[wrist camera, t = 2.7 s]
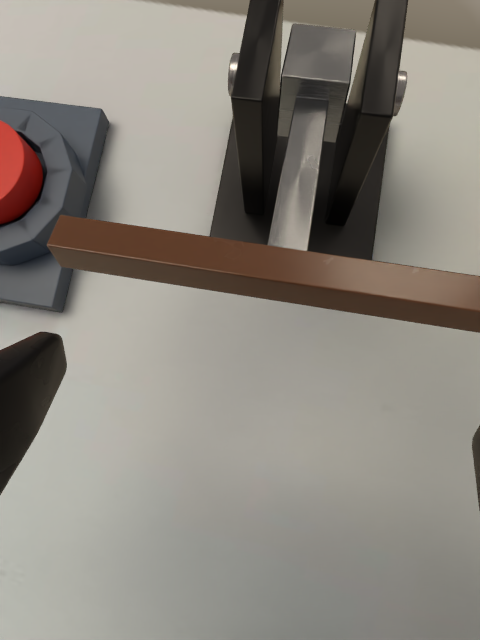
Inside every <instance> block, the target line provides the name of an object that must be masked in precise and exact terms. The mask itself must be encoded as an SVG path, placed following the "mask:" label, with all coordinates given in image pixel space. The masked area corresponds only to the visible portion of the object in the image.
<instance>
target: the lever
mask: <svg viewBox="0 0 480 640" xmlns="http://www.w3.org/2000/svg"><path fill="white" fill-rule="evenodd" d="M355 38H356V30H352V29H342V28H332V27H323V26H313V25H303V24H293V25H292V28H291V33H290V37H289V42H288V46H287V51H286V55H285V60H284V64H283V69H282V74H281V82H280V95H279V108H278V120H277V133H276V134H277V136H284V137H288V141H287V146H286V151H285V156H284V162H283V167H282V172H281V177H280V183H279V188H278V193H277V198H276V203H275V209H274V214H273V219H272V224H271V230H270V235H269V240H268V245H263V244H257V243H250V242H243V241H236V240H229V239H223V238H216V237H209V236H202V235H195V234H188V233H182V232H175V231H168V230H161V229H154V228H148V227H141V226H134V225H127V224H120V223H113V222H107V221H100V220H93V219H86V218H79V217H72V216H66V215H60V216H59V218H58V221H57V223H56V225H55V227H54V229H53V232H52V234H51V236H50V238H49V241H48V243H47V247H48V249H49V250H50V252H51V253H52V255H53V256H54V258H55V259H56V261H57V262H58V263H59V265H60V266H61V267H65V268H72V269H78V270H84V271H91V272H97V273H104V274H110V275H116V276H123V277H129V278H135V279H142V280H148V281H154V282H161V283H167V284H173V285H180V286H186V287H193V288H199V289H205V290H212V291H218V292H224V293H231V294H237V295H243V296H250V297H256V298H262V299H269V300H275V301H282V302H288V303H294V304H301V305H307V306H313V307H320V308H326V309H332V310H339V311H345V312H351V313H358V314H364V315H371V316H377V317H383V318H390V319H396V320H402V321H409V322H415V323H421V324H428V325H434V326H440V327H447V328H453V329H459V330H466V331H472V332H479V333H480V276H475V275H468V274H461V273H454V272H448V271H441V270H434V269H427V268H420V267H413V266H407V265H400V264H393V263H386V262H379V261H373V260H366V259H359V258H352V257H345V256H338V255H332V254H325V253H318V252H311V251H308V244H309V237H310V230H311V223H312V216H313V209H314V202H315V195H316V188H317V181H318V174H319V167H320V160H321V153H322V146H323V141H324V142H332V143H336V142H337V138H338V134H339V130H340V125H341V121H342V117H343V112H344V108H345V104H346V100H347V95H348V91H349V87H350V81H351V72H352V64H353V55H354V46H355Z"/></svg>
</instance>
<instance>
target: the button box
mask: <svg viewBox="0 0 480 640" xmlns="http://www.w3.org/2000/svg"><path fill="white" fill-rule="evenodd" d="M0 120H1V121H3V122H5V123H6V124H8V125H9V126H11V127H12V128H13V129H14V130H15V131H16V132H17V133H18V134H19V135H20V136H21V138H22V139H23V140H24V141H25V142H26V143H27V144H28V145H29V146H30V147H31V148H32V149H33V151H34V152H35V153H36V154H37V156H38V158H39V160H40V163H41V166H42V171H43V182H42V187H41V190H40V193H39V195H38V197H37V199H36V200H35V202H34V204H33V205H32V206H31V207H30V208H29V209H28V210H27V211H26V212H25V213H24V214H23V215H21V216H20V217H18V218H17V219H15V220H13V221H10V222H8V223H4V224H0V302H3V303H9V304H15V305H21V306H27V307H33V308H39V309H45V310H51V311H57V312H62V311H63V308H64V304H65V300H66V296H67V292H68V288H69V284H70V280H71V275H72V271H73V269H72V268H65V267H61V266H60V265H59V263H58V262H57V261H56V259H55V258H54V256H53V255H52V253H51V252H50V250H49V249H48V247H47V243H48V241H49V238H50V236H51V234H52V232H53V229H54V227H55V225H56V223H57V221H58V218H59V216H60V215H66V216H72V217H79V218H86V215H87V211H88V206H89V202H90V198H91V194H92V190H93V186H94V182H95V178H96V174H97V170H98V166H99V162H100V158H101V154H102V150H103V146H104V142H105V137H106V133H107V129H108V125H109V121H108V119H107V117H106V115H105V114H104V112H103V110H102V109H99V108H91V107H83V106H75V105H67V104H59V103H51V102H43V101H35V100H26V99H18V98H10V97H2V96H0Z"/></svg>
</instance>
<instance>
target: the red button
mask: <svg viewBox="0 0 480 640" xmlns="http://www.w3.org/2000/svg"><path fill="white" fill-rule="evenodd" d="M42 182H43V171H42V166H41V163H40V160H39V158H38V156H37V154H36V153H35V152H34V151H33V149H32V148H31V147H30V146H29V145H28V144H27V143H26V142H25V141H24V140H23V139H22V138H21V136H20V135H19V134H18V133H17V132H16V131H15V130H14V129H13V128H12V127H11V126H9V125H8V124H6V123H5V122H3V121H1V120H0V224H4V223H8V222H10V221H13V220H15V219H17V218H18V217H20V216H21V215H23V214H24V213H25V212H26V211H27V210H28V209H29V208H30V207H31V206H32V205H33V204H34V202H35V200H36V199H37V197H38V195H39V193H40V190H41V187H42Z"/></svg>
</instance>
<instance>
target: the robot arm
mask: <svg viewBox="0 0 480 640" xmlns="http://www.w3.org/2000/svg"><path fill="white" fill-rule="evenodd" d="M66 368H67V362H66V356H65V351H64V346H63V341H62V338H61V336H60V335H58V334H54V333H48V332H39V333H37V334H34V335H32V336H30V337H28V338H26V339H24V340H21V341H19V342H17V343H15V344H13V345H11V346H9V347H6V348H4V349H2V350H0V495H1V493H2V491H3V490H4V488H5V486H6V485H7V483H8V481H9V480H10V478H11V476H12V475H13V473H14V471H15V470H16V468H17V467H18V465H19V463H20V462H21V460H22V458H23V457H24V455H25V453H26V452H27V450H28V448H29V447H30V445H31V443H32V442H33V440H34V438H35V436H36V435H37V433H38V431H39V429H40V427H41V425H42V423H43V421H44V418H45V416H46V414H47V412H48V410H49V408H50V405H51V403H52V401H53V399H54V397H55V395H56V392H57V390H58V388H59V386H60V384H61V381H62V379H63V377H64V375H65V372H66ZM472 450H473V458H474V467H475V476H476V484H477V493H478V502H479V509H480V426H479V427H478V429H477V431H476V433H475V434H474V437H473V441H472Z"/></svg>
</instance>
